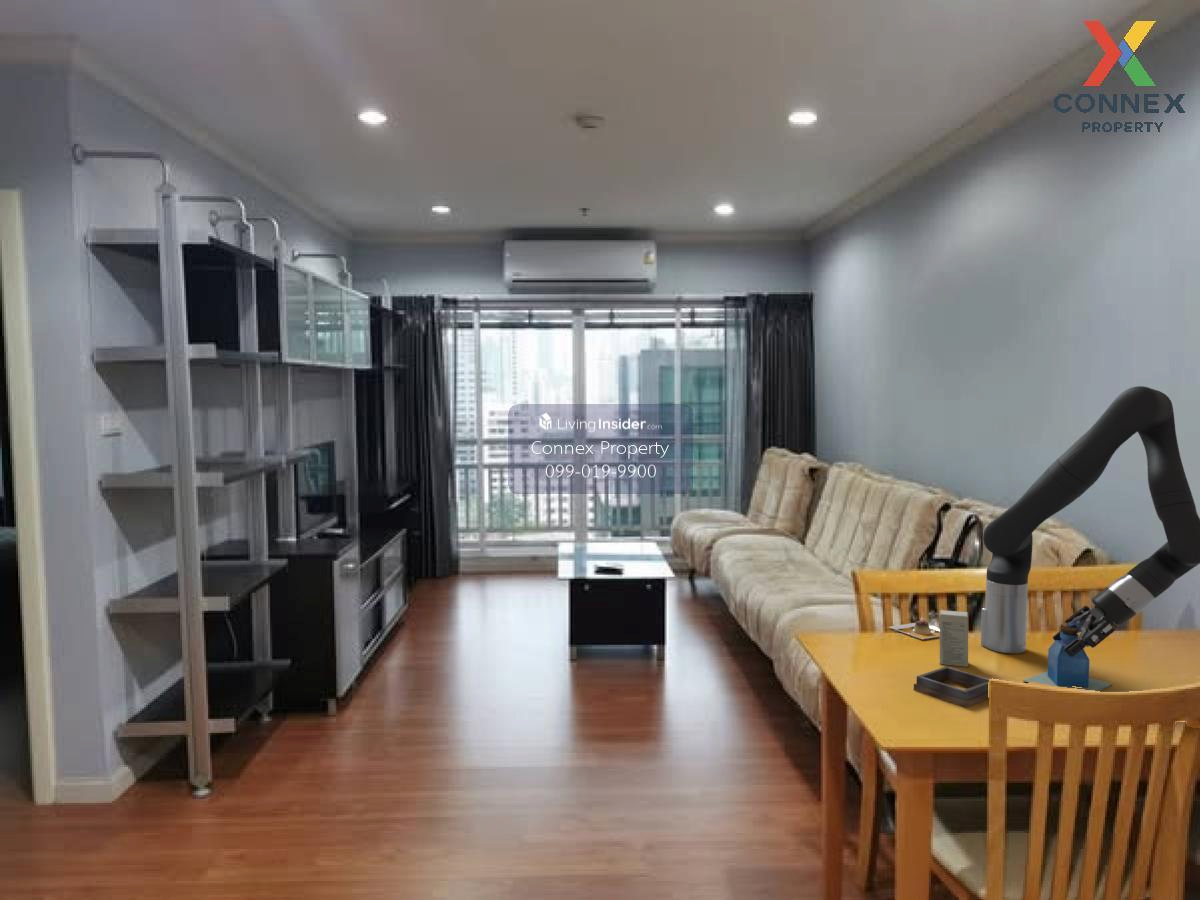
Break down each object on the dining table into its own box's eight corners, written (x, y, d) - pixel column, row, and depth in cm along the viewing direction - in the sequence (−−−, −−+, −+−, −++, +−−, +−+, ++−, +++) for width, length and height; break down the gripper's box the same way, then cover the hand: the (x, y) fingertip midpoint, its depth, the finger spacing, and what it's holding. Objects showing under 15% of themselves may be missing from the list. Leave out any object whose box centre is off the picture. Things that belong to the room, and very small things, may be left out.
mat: (1022, 682, 175) (1022, 680, 174) (1054, 669, 182) (1054, 668, 182) (1080, 698, 165) (1080, 697, 165) (1111, 685, 172) (1111, 683, 172)
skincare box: (968, 662, 188) (969, 611, 187) (968, 667, 184) (969, 616, 183) (938, 658, 190) (940, 609, 190) (938, 664, 187) (939, 613, 186)
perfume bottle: (1088, 687, 170) (1090, 633, 169) (1056, 685, 171) (1058, 631, 170) (1078, 678, 176) (1079, 625, 175) (1047, 675, 177) (1049, 623, 176)
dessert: (922, 643, 204) (922, 625, 204) (888, 630, 215) (888, 613, 215) (956, 637, 209) (956, 619, 209) (921, 625, 220) (921, 608, 220)
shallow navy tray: (913, 689, 170) (913, 676, 170) (945, 678, 177) (946, 665, 177) (966, 707, 160) (966, 693, 160) (997, 694, 167) (998, 681, 167)
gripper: (1098, 579, 177) (1039, 625, 181) (1121, 594, 163) (1057, 644, 167) (1124, 604, 176) (1064, 650, 180) (1149, 621, 162) (1084, 670, 166)
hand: (1061, 647), depth 173 cm, fingers open, 8 cm apart
